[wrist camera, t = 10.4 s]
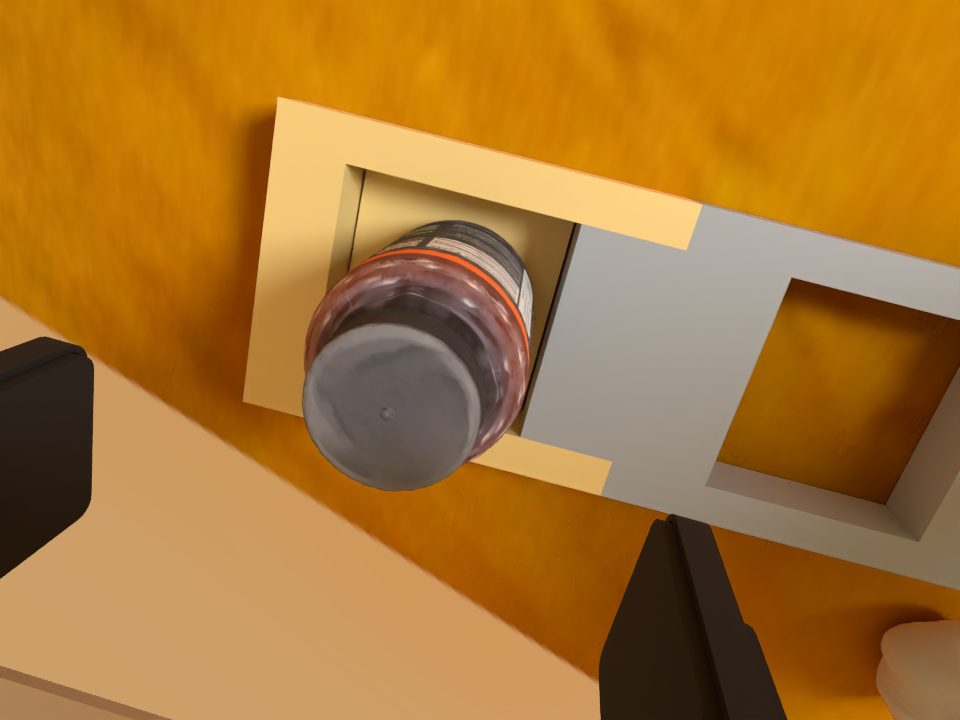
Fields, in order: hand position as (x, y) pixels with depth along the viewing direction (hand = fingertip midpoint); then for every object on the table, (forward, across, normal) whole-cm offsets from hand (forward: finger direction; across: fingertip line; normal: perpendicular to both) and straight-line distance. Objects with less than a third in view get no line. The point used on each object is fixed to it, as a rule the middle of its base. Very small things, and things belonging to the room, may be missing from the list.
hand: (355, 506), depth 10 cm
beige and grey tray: (+15, -6, 0) cm, 17 cm away
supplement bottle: (+15, +1, 0) cm, 15 cm away
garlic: (+16, -22, +10) cm, 29 cm away
